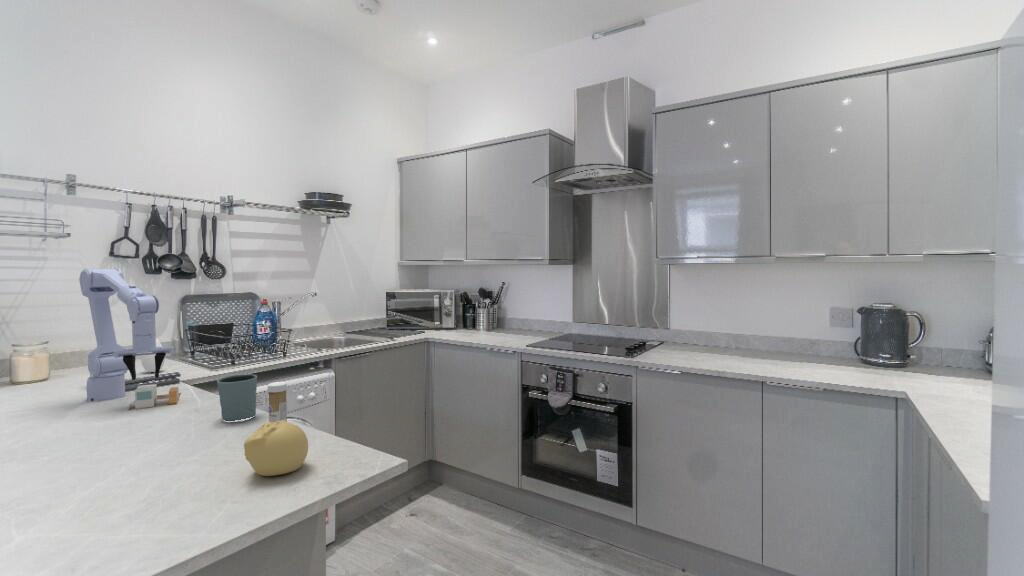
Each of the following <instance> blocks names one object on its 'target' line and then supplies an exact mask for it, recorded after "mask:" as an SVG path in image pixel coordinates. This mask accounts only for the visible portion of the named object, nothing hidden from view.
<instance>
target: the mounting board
mask: <svg viewBox="0 0 1024 576" xmlns="http://www.w3.org/2000/svg"><path fill="white" fill-rule="evenodd" d="M181 394H182V392H179V398H181ZM166 398H169V393H167V394H166V393H165V394H159V395H158V394H157V399H166ZM133 402H135V400H134V401H133ZM174 405H177V404H169V403H168V404H160V405H154V407H147V408H146V409H150V408H151V409H152V408H158V407H159V408H160V407H165V406H166V407H167V406H174ZM142 409H145V408H138V409H137V410H142ZM133 410H136V409H135V408H128V411H133Z"/></svg>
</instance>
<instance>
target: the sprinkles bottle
mask: <svg viewBox="0 0 1024 576" xmlns="http://www.w3.org/2000/svg"><path fill="white" fill-rule="evenodd" d="M287 388H288V385H287V382H286V381H275V382H271V383H267V392H268V423H269V422H278V421H282V420H286V422H287V423H288V413H287V412H288V408H287V407H288V406H287V405H288V403H287V401H288V400H287Z"/></svg>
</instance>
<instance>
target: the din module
mask: <svg viewBox="0 0 1024 576" xmlns="http://www.w3.org/2000/svg"><path fill="white" fill-rule="evenodd" d="M157 385H158V384H156V383H155V384H147V385H146V384H145V385H138V386H137V388H136V389H135V390H134V401H135V410H139V409H138V408H144V409H148V408H147V407H152V408H155V407H154V405H155V404H154V401H155V400H157V395H158V388H157V387H158V386H157Z"/></svg>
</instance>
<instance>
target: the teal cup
mask: <svg viewBox="0 0 1024 576" xmlns="http://www.w3.org/2000/svg"><path fill="white" fill-rule="evenodd" d="M216 384H217V390H218V391H217V392H218V396H219V403H220V407H221V409H220V411H221V413H220V414H221V420H222V419H223V420H225V421H235V420H241V419H246V418H250V417H253V416H255V415H257V388H258V387H257V386H258V375H257V374H251V373H250V374H249V373H244V374H243V373H242V374H233V375H227V376H224V377H221V378H218V379H217V380H216ZM255 417H256V416H255ZM223 420H222V421H223Z"/></svg>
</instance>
